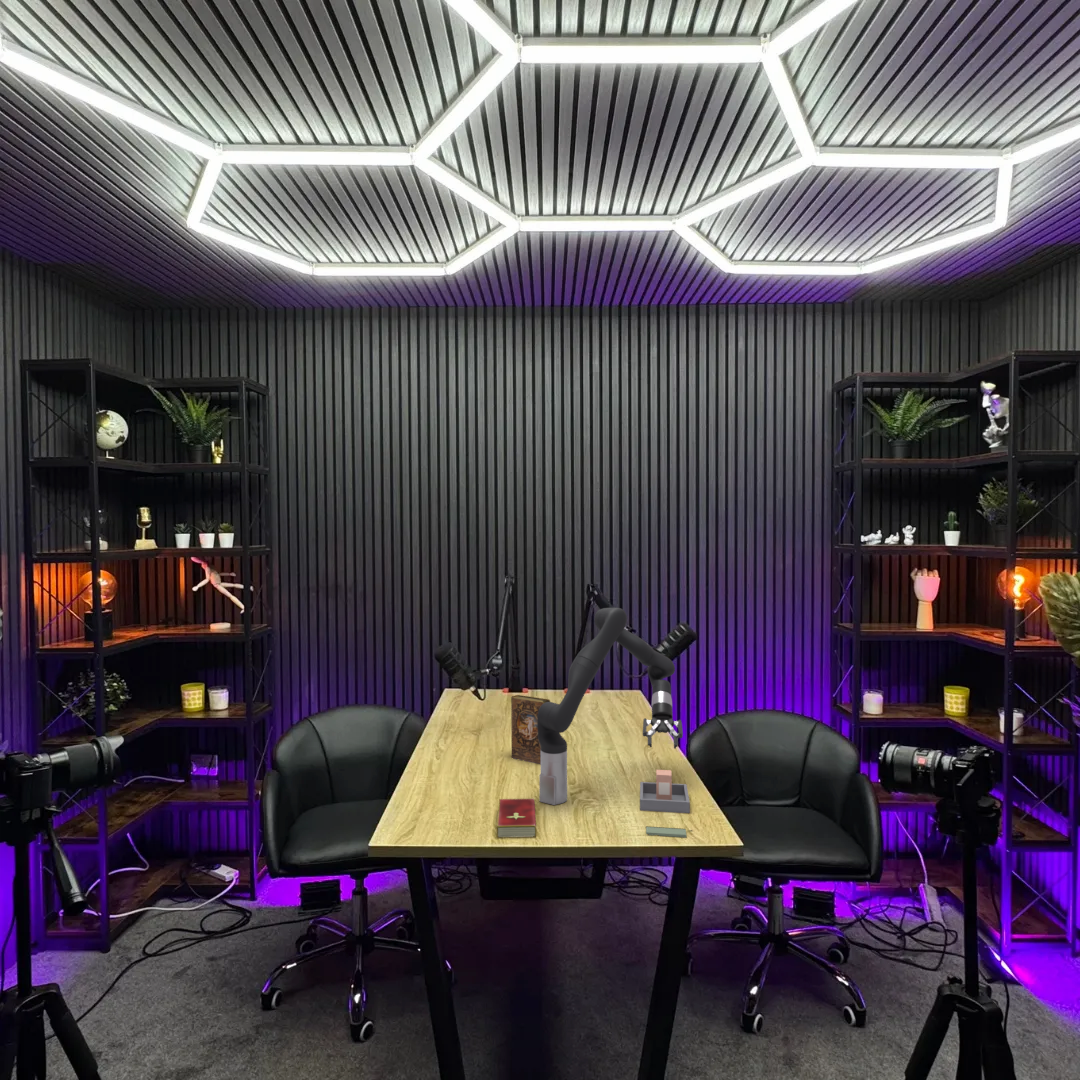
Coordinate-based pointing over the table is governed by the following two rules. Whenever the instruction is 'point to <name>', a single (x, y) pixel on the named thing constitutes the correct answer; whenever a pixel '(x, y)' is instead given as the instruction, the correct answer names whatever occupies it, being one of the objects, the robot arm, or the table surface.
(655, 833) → the grey-green flat plate
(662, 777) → the labelled box
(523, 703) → the book
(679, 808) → the parts bin
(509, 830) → the hardcover book
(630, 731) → the table surface
